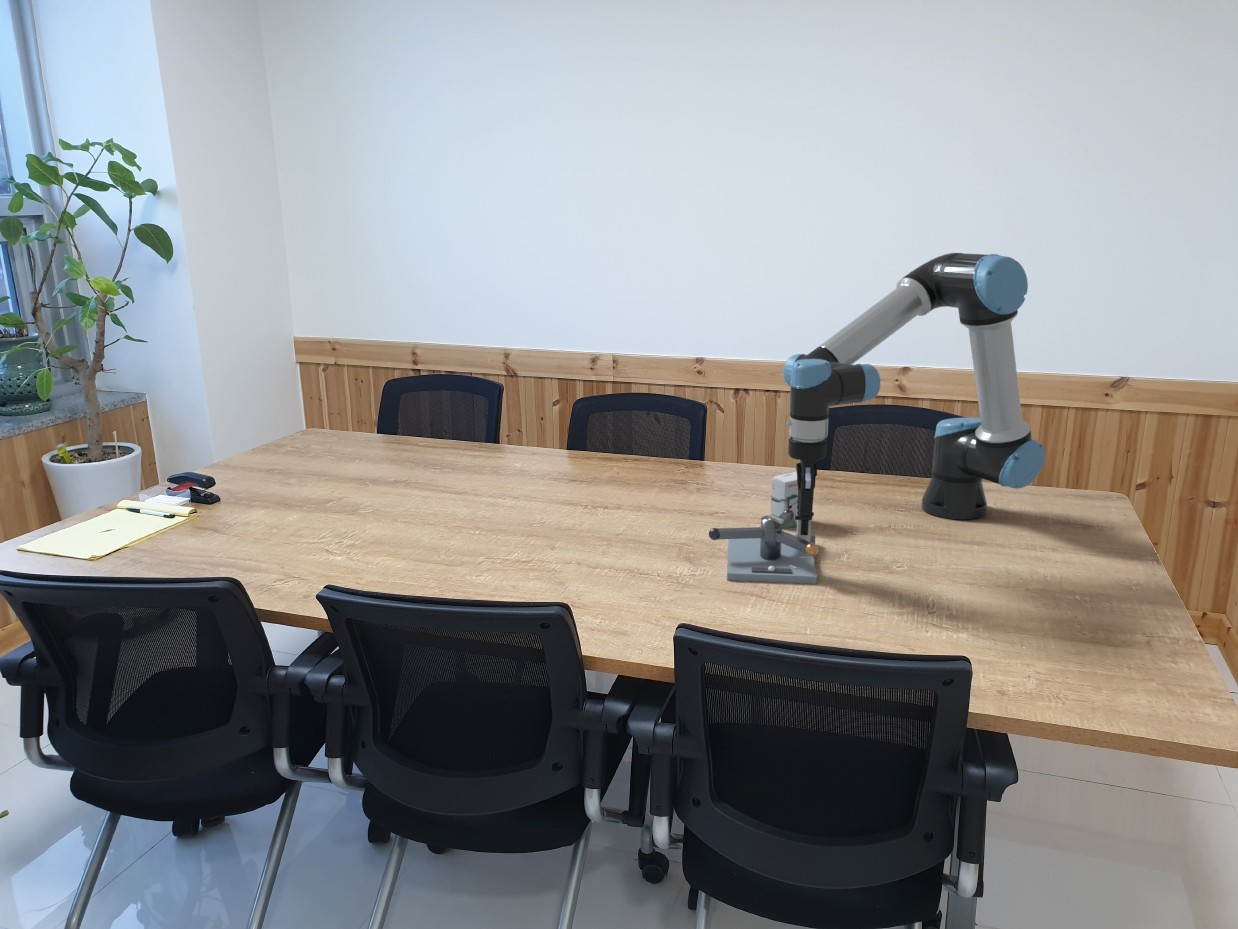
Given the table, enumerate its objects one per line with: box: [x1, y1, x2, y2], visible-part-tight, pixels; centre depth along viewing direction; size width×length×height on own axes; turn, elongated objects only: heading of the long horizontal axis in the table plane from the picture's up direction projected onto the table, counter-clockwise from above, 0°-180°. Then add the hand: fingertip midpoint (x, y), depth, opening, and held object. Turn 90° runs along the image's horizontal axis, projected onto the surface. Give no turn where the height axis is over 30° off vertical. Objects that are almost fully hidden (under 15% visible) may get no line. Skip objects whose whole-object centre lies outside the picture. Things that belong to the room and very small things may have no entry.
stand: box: [726, 532, 818, 585], centre depth 195 cm, size 19×23×3 cm
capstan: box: [708, 509, 819, 560], centre depth 190 cm, size 21×23×9 cm
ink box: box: [770, 471, 798, 530], centre depth 216 cm, size 9×5×12 cm, turn 123°
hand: (802, 547), depth 188 cm, fingers closed
